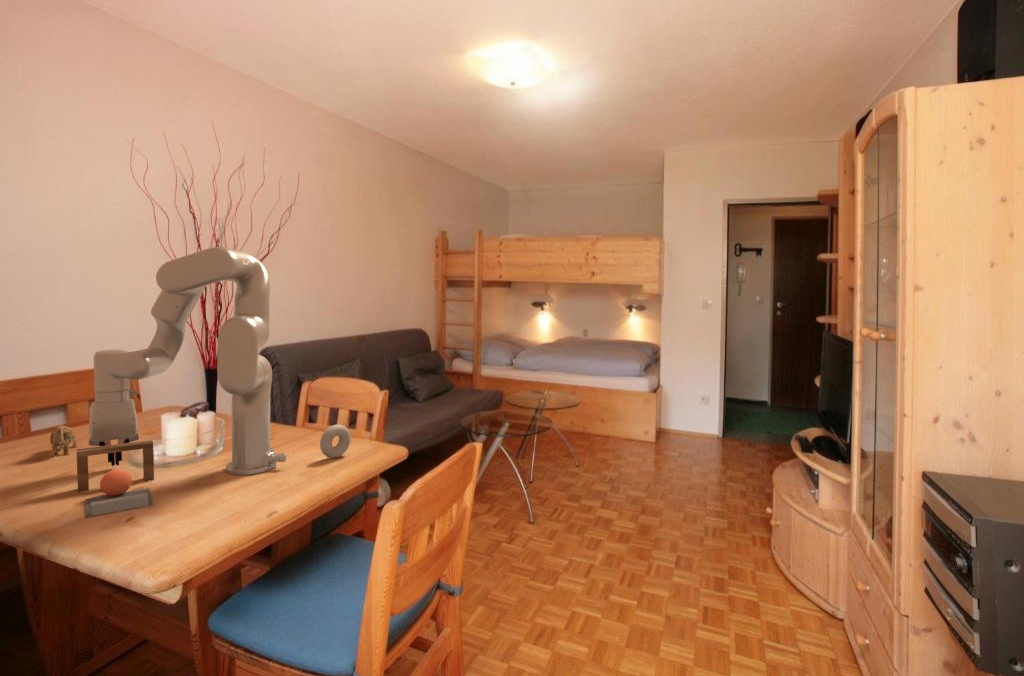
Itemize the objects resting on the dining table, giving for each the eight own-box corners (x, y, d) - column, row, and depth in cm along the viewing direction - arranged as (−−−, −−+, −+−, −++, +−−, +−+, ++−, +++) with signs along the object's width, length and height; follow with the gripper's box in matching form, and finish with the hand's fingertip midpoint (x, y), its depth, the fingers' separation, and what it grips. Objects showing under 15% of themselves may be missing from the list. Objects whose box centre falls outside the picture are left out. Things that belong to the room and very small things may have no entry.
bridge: (78, 488, 127) (76, 449, 127) (152, 476, 137) (152, 440, 136) (78, 492, 125) (76, 452, 124) (154, 479, 134) (153, 442, 134)
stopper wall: (91, 513, 114) (91, 502, 114) (147, 503, 120) (147, 492, 120) (91, 516, 112) (91, 505, 112) (148, 506, 119) (148, 495, 118)
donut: (324, 462, 152) (324, 428, 151) (317, 460, 154) (317, 426, 153) (352, 454, 160) (353, 422, 159) (345, 452, 162) (345, 420, 161)
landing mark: (85, 499, 121) (85, 498, 121) (149, 489, 129) (149, 488, 128) (85, 517, 112) (85, 517, 112) (153, 505, 119) (153, 504, 119)
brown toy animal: (74, 457, 150) (73, 426, 149) (49, 460, 147) (48, 428, 146) (78, 444, 162) (77, 416, 161) (55, 447, 159) (54, 417, 158)
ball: (137, 470, 129) (136, 477, 124) (124, 494, 127) (123, 501, 122) (108, 463, 125) (107, 469, 121) (95, 488, 124) (93, 495, 119)
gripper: (146, 391, 147) (147, 456, 149) (76, 396, 138) (79, 465, 139) (148, 396, 141) (150, 463, 143) (76, 402, 132) (78, 473, 133)
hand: (115, 464), depth 141 cm, fingers closed
